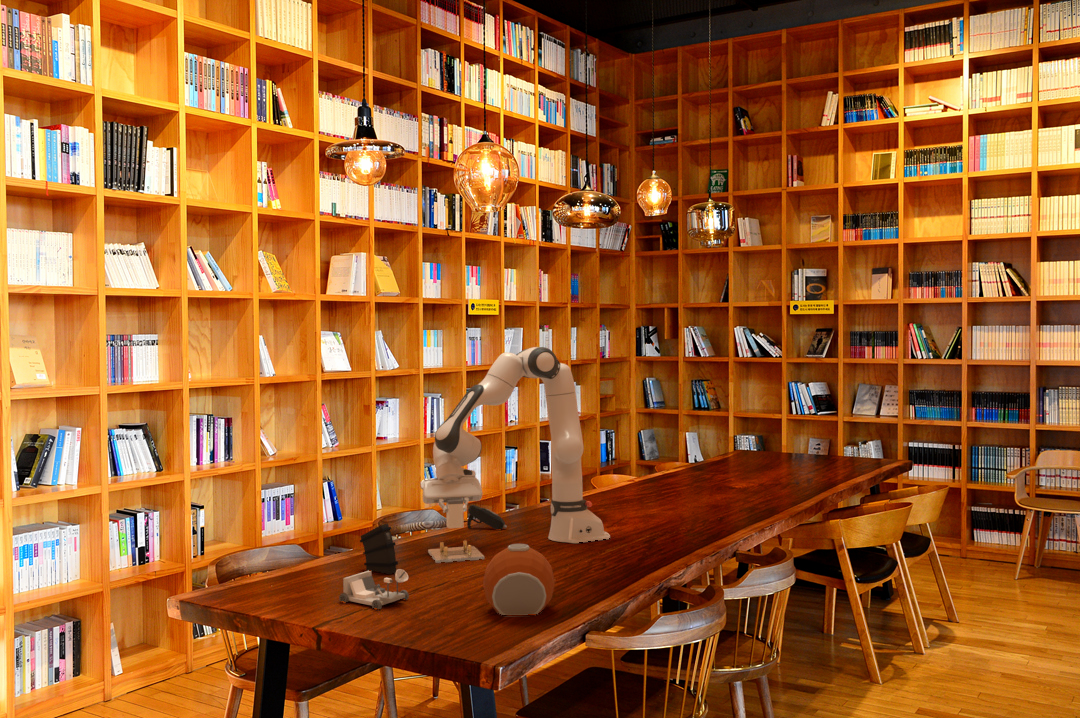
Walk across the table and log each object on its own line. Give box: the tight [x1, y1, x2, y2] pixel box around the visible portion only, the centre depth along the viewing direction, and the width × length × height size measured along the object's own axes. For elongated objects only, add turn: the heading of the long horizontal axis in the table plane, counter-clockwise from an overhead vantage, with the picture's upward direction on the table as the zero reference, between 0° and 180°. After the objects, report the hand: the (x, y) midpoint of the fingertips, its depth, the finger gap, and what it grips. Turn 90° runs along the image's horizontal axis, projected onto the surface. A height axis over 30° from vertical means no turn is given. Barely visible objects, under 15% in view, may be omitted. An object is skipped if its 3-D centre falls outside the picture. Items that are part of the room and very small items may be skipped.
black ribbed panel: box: [359, 523, 399, 575], centre depth 280 cm, size 4×13×15 cm, turn 53°
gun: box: [466, 504, 508, 530], centre depth 343 cm, size 3×16×10 cm, turn 79°
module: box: [445, 499, 465, 529], centre depth 299 cm, size 5×4×9 cm
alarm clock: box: [482, 543, 556, 616], centre depth 237 cm, size 19×18×17 cm
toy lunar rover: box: [338, 568, 410, 610], centre depth 247 cm, size 18×10×12 cm
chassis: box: [427, 540, 485, 564], centre depth 299 cm, size 16×16×4 cm
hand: (455, 511), depth 299 cm, fingers closed on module, 5 cm apart
